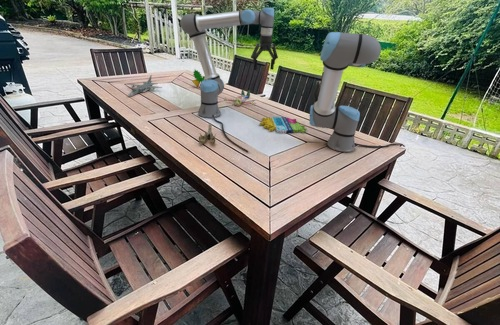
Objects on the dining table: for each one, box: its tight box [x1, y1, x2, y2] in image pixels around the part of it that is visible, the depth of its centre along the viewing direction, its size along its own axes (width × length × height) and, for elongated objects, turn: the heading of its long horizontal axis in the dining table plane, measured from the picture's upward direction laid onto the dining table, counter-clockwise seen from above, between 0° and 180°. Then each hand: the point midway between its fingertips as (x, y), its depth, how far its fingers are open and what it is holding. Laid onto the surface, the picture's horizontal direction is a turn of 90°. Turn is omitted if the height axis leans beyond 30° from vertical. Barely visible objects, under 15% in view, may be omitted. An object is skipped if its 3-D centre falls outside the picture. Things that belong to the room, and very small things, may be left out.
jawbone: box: [198, 123, 217, 146], centre depth 145 cm, size 9×15×10 cm
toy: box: [223, 89, 257, 106], centre depth 219 cm, size 28×7×30 cm
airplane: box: [126, 74, 163, 98], centre depth 227 cm, size 38×31×10 cm
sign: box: [259, 116, 307, 134], centre depth 176 cm, size 26×2×30 cm
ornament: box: [191, 69, 205, 89], centre depth 252 cm, size 21×8×15 cm, turn 105°
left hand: (263, 69), depth 179 cm, fingers open, 13 cm apart
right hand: (321, 107), depth 173 cm, fingers closed on tin, 8 cm apart
